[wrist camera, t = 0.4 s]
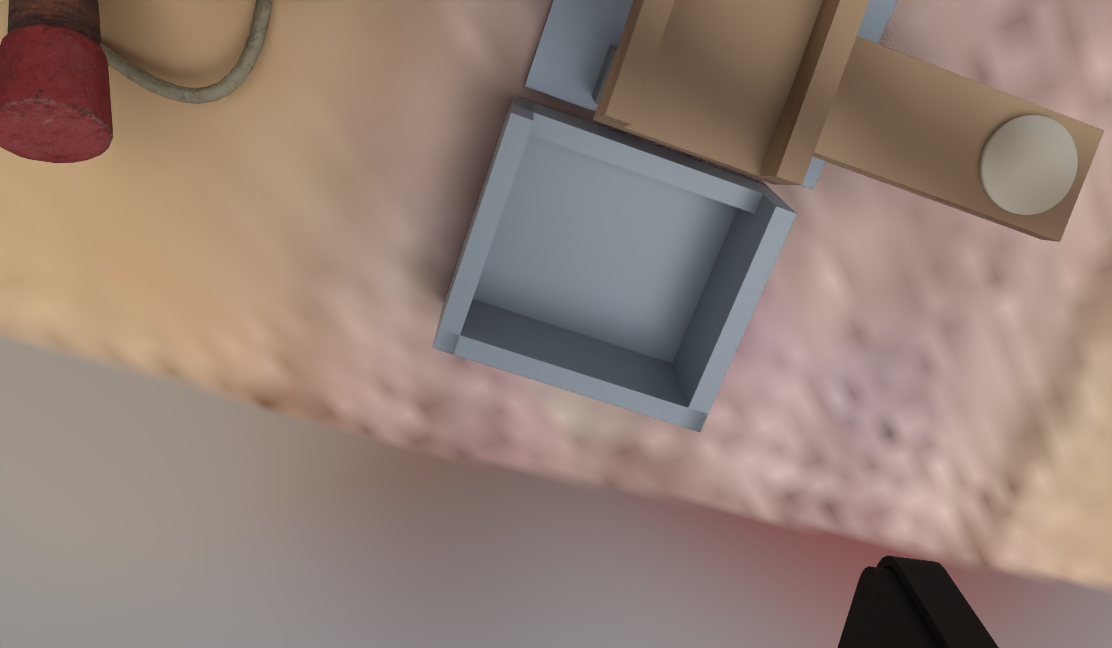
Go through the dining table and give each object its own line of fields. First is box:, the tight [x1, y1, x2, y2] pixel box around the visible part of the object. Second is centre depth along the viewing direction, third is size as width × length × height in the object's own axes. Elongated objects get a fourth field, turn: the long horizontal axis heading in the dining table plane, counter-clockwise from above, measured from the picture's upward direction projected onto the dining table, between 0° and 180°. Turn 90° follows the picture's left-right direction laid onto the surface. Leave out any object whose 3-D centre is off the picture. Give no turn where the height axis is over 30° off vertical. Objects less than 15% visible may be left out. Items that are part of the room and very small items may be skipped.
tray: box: [433, 94, 797, 432], centre depth 38 cm, size 9×11×5 cm
